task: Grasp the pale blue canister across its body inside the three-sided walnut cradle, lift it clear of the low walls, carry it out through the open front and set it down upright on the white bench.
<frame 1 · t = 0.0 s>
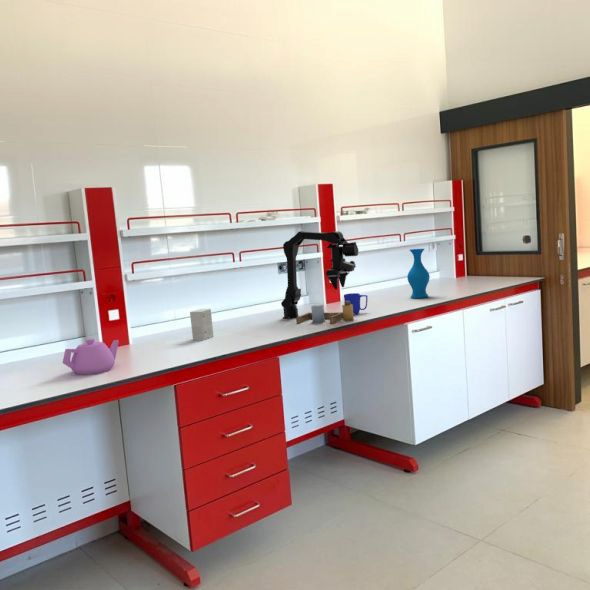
hand: (339, 288, 303), 15 cm above the lab bench, fingers open, 9 cm apart
vase: (419, 297, 353), on the lab bench
small box: (203, 338, 277), on the lab bench
pale blue canister: (318, 321, 297), on the lab bench
cradle: (319, 321, 298), on the lab bench
reagent bottle: (348, 320, 294), on the lab bench
teapot: (94, 371, 228), on the lab bench
mug: (356, 313, 314), on the lab bench
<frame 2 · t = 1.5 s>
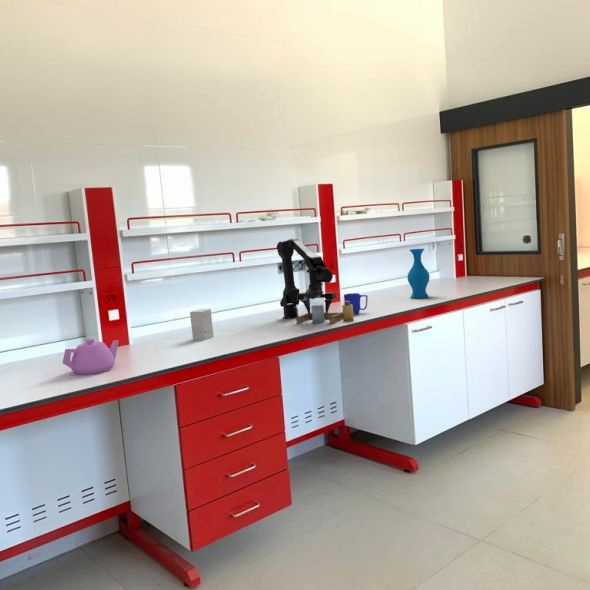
hand: (317, 313, 297), 4 cm above the lab bench, fingers open, 9 cm apart
nothing on the lab bench moved.
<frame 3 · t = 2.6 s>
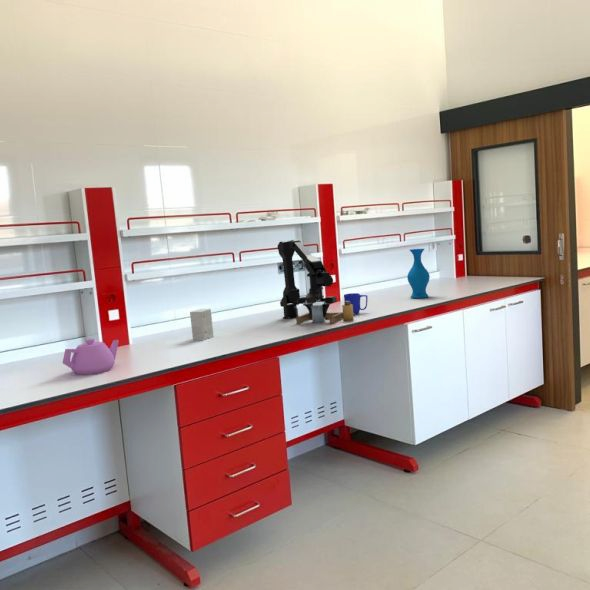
hand: (318, 317, 297), 2 cm above the lab bench, fingers closed on pale blue canister, 6 cm apart
pale blue canister: (318, 321, 297), on the lab bench, touching gripper
everything else where it was.
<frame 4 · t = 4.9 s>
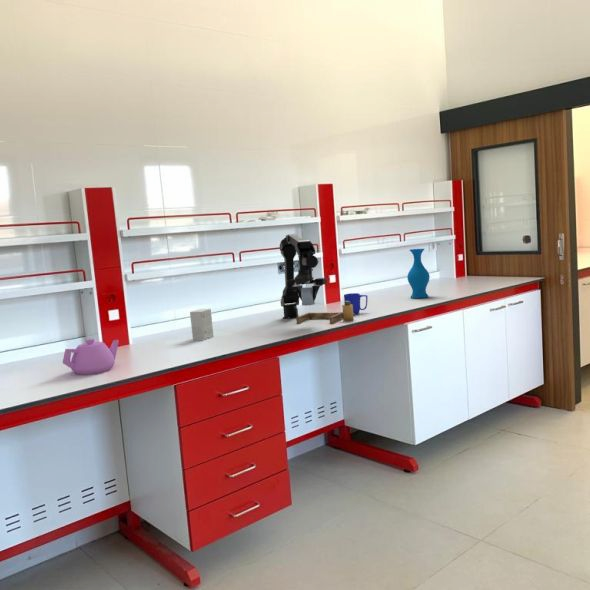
hand: (308, 300, 286), 12 cm above the lab bench, fingers closed on pale blue canister, 6 cm apart
pale blue canister: (308, 304, 286), point 10 cm above the lab bench, touching gripper
everything else where it was.
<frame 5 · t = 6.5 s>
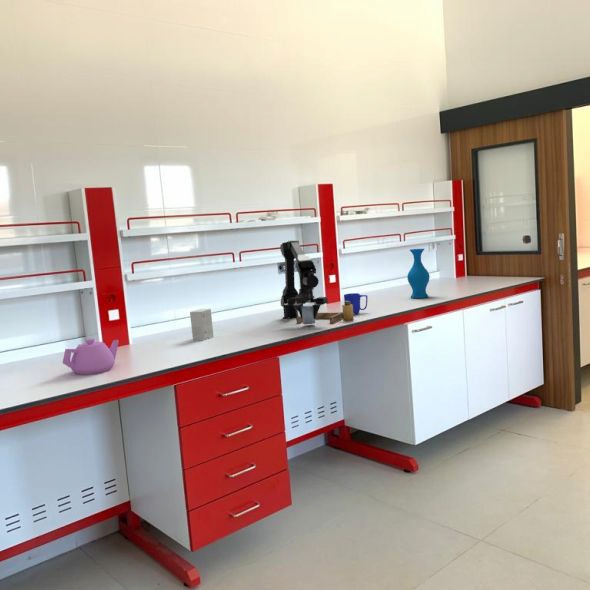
hand: (308, 318, 287), 3 cm above the lab bench, fingers closed on pale blue canister, 6 cm apart
pale blue canister: (309, 323, 287), point 1 cm above the lab bench, touching gripper
everything else where it was.
when the fingers open (3 cm above the lab bench, at t = 7.5 s): pale blue canister stays where it is, on the lab bench.
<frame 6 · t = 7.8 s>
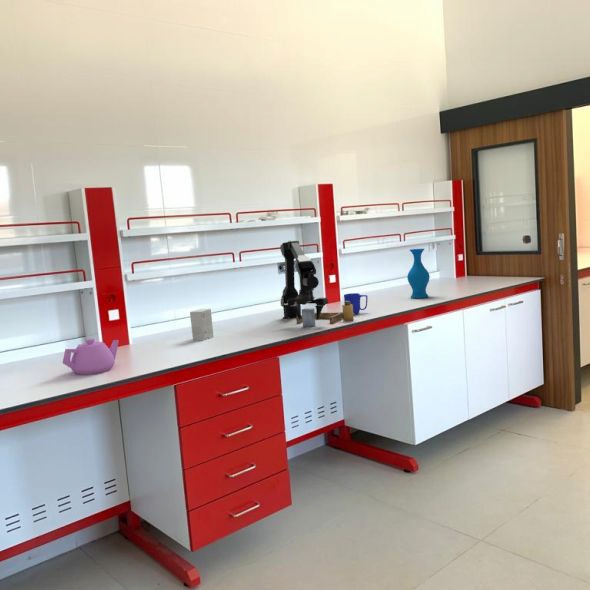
hand: (308, 319, 287), 3 cm above the lab bench, fingers open, 9 cm apart
pale blue canister: (309, 325, 287), on the lab bench
everything else where it was.
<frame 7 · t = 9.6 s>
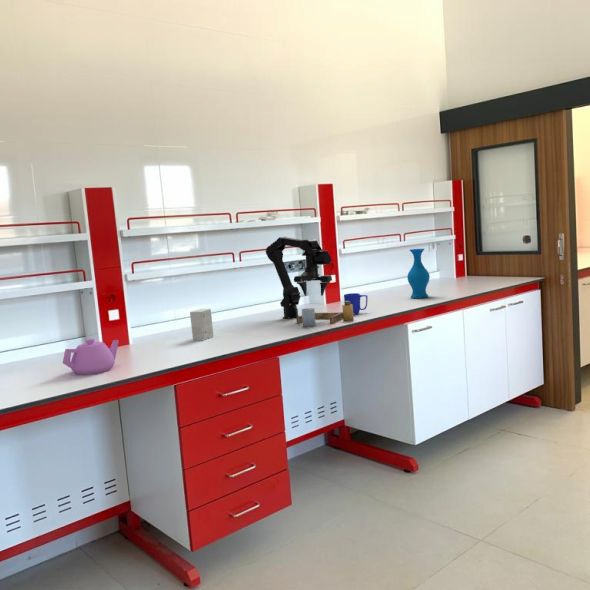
hand: (313, 295, 305), 12 cm above the lab bench, fingers open, 9 cm apart
nothing on the lab bench moved.
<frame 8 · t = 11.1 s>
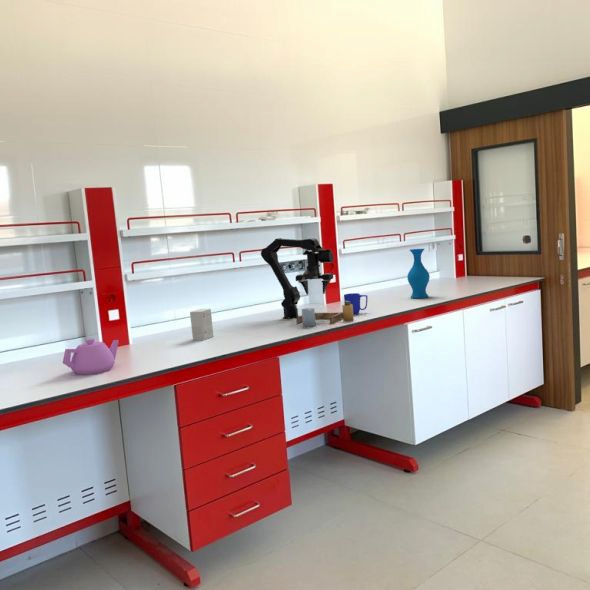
hand: (315, 294, 309), 12 cm above the lab bench, fingers open, 9 cm apart
nothing on the lab bench moved.
at the end: pale blue canister inside the target area on the lab bench beside the cradle (3.3 cm from its centre), on the lab bench; pale blue canister tilted 1°; the gripper is holding nothing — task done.
